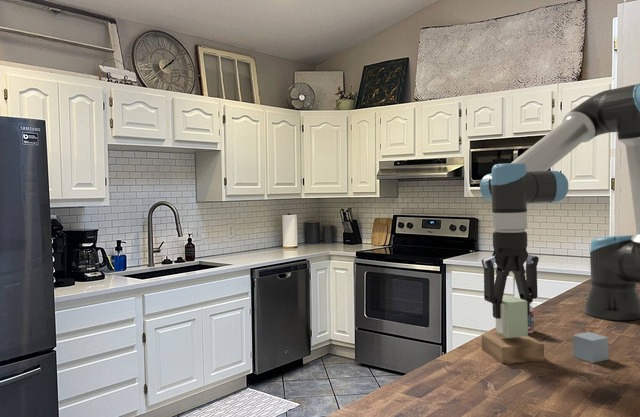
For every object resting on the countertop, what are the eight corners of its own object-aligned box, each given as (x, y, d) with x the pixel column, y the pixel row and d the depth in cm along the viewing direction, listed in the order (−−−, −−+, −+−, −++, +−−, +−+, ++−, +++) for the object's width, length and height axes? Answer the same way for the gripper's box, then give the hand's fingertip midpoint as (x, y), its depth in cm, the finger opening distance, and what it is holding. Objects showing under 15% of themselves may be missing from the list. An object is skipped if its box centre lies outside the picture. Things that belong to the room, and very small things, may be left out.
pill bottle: (535, 334, 138) (535, 300, 138) (514, 333, 139) (514, 300, 139) (531, 328, 144) (531, 296, 143) (511, 328, 145) (511, 295, 144)
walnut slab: (521, 348, 128) (520, 332, 128) (544, 361, 118) (543, 344, 118) (482, 351, 127) (481, 335, 127) (502, 365, 117) (501, 347, 117)
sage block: (514, 329, 125) (514, 296, 125) (527, 335, 121) (527, 300, 120) (496, 332, 124) (495, 298, 124) (508, 337, 119) (507, 302, 119)
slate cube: (588, 353, 122) (588, 332, 122) (608, 359, 118) (608, 337, 117) (573, 356, 120) (573, 335, 120) (592, 363, 116) (592, 340, 115)
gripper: (533, 227, 127) (535, 322, 128) (465, 231, 123) (468, 330, 124) (554, 229, 120) (556, 331, 121) (482, 234, 116) (485, 339, 117)
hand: (511, 330), depth 122 cm, fingers closed on sage block, 5 cm apart
